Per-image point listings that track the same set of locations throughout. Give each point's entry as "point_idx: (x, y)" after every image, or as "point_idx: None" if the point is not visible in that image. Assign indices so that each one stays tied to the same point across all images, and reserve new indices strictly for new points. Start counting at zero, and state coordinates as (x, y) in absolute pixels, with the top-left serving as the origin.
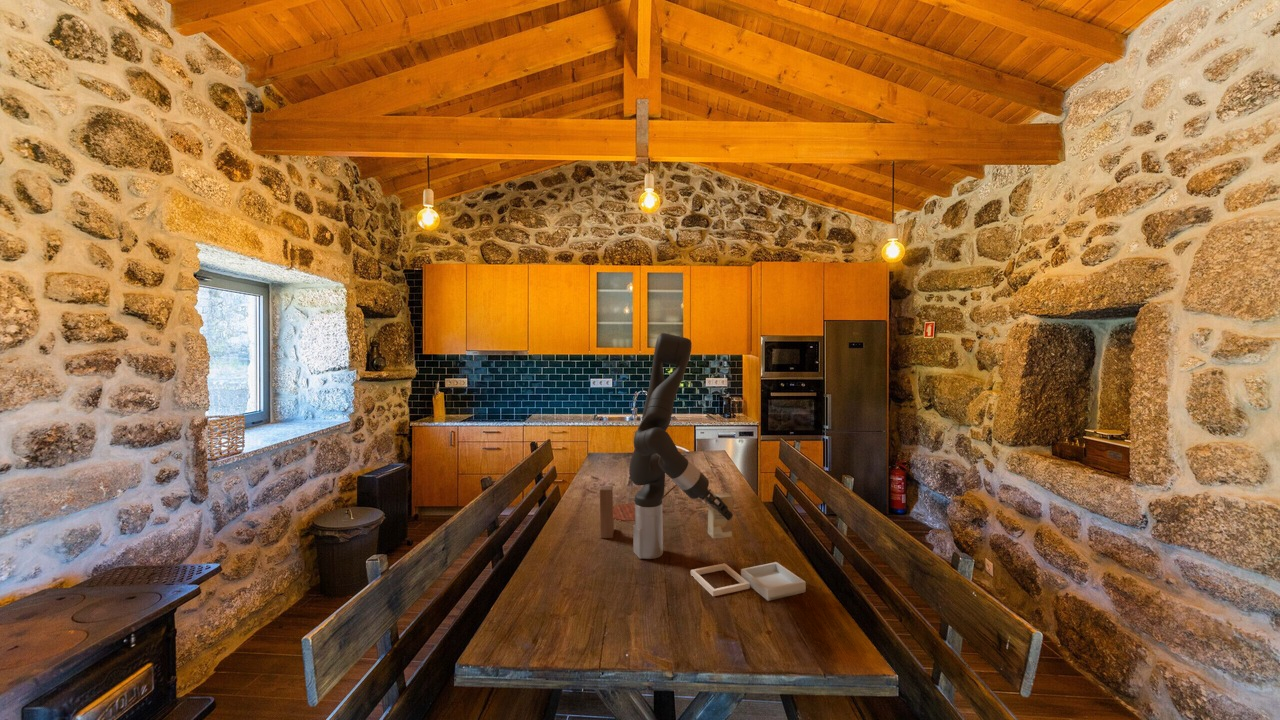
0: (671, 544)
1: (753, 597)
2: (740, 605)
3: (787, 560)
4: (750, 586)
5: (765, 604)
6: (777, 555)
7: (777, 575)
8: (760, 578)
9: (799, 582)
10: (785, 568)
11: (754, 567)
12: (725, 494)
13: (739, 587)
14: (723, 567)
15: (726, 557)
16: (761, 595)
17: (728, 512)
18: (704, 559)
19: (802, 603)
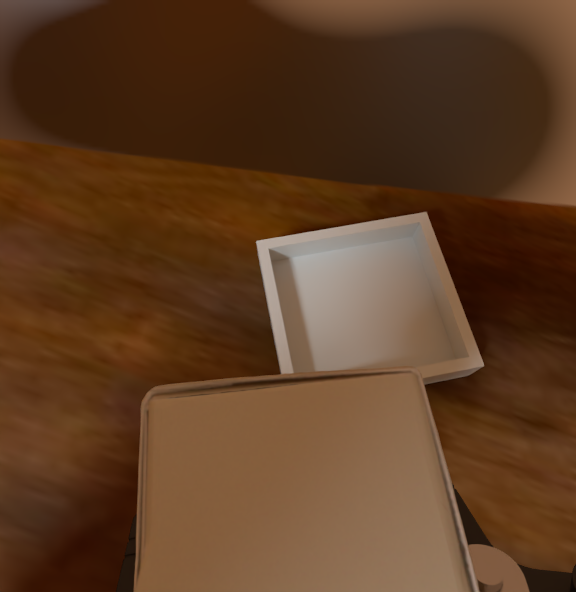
0: None
1: (438, 419)
2: (497, 497)
3: (187, 191)
4: None
5: (491, 395)
6: (138, 205)
7: (308, 271)
8: (319, 339)
9: (430, 232)
10: (316, 232)
11: (284, 341)
12: (316, 490)
13: None
14: None
15: (81, 401)
16: (427, 383)
17: (462, 504)
18: (60, 516)
19: (487, 271)
